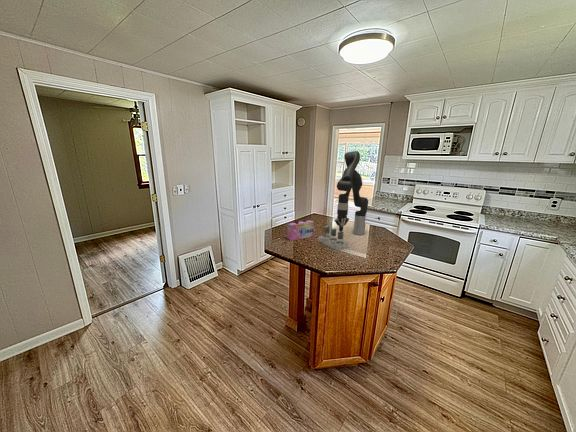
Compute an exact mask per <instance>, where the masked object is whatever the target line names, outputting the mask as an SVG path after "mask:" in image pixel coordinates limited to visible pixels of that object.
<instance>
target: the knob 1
mask: <svg viewBox="0 0 576 432" xmlns="http://www.w3.org/2000/svg"><path fill="white" fill-rule="evenodd" d="M330 227H331V226H330V225H324V233H325V234H330V231H331V229H330Z"/></svg>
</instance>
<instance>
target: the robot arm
mask: <svg viewBox="0 0 576 432" xmlns="http://www.w3.org/2000/svg"><path fill="white" fill-rule="evenodd" d="M360 159H361V155H360V151H357V150H355V151H348V152H347V151H346V152H345V154H344V162H345V166H346V168H345V169H344V171H343V173H342V176H341V177H340V179H339V180H338V182H337V184H336V189H337V190H338V191H340V192H341V191H342V192H345V193H340V194H339V195H338V202H337V210H336V214H337V216H336V219H334V223H335V224H336V225H337V226H338V230H339V231H342V232H344V226H346V225H347V224H348V222H349V220H350V218H348V213H349V198H350V193H351V191H352V197H353V204H354V206H355V207H357V208H360V210H356V211H355V212H354V221H353V234H354V235H355V236H356V235H357V236H362V235H366V234H365V231H366V226H367V225H366V217H367V212H368V206H369V199H368V198H367V197H362V196H360V191H361V189H362V186H363V179H362V176H361V174H360V173H359V172H358V171H357V170H356V169H357V167H358V165H359V163H360ZM339 231H338V232H339Z"/></svg>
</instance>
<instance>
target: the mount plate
mask: <svg viewBox="0 0 576 432" xmlns="http://www.w3.org/2000/svg"><path fill="white" fill-rule="evenodd" d="M317 241H318V242H319V243H321V244H323V245H325V246H327V247H329V248H331V249H333V250H335V251H339V250H344V249H348V248H349V245H350V244H349V241H347V240H344V239H338V236H331V233H327V234H323V235H318V240H317Z"/></svg>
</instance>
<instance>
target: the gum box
mask: <svg viewBox="0 0 576 432" xmlns="http://www.w3.org/2000/svg"><path fill="white" fill-rule="evenodd" d="M314 235H315V221H312V220H311V219H304V220H297V221H289V222H286V239H287V240H289V241H296V240H302V239H306V238H313V237H314Z"/></svg>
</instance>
